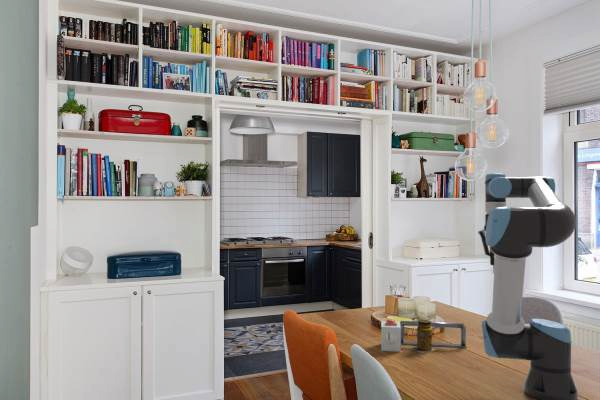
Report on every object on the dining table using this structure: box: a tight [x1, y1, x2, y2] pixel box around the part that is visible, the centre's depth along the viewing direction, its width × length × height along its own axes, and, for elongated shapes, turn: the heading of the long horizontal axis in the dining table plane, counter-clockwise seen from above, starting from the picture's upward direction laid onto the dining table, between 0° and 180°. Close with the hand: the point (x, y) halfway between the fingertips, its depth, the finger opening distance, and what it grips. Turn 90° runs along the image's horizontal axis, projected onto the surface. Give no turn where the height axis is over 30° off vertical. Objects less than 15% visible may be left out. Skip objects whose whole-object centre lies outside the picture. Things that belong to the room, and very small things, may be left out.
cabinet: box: [380, 320, 402, 353], centre depth 203 cm, size 11×8×10 cm
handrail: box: [399, 320, 467, 349], centre depth 207 cm, size 28×3×10 cm, turn 80°
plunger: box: [385, 318, 396, 326], centre depth 204 cm, size 4×4×9 cm
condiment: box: [409, 319, 437, 354], centre depth 201 cm, size 7×8×12 cm
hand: (495, 273), depth 185 cm, fingers closed
